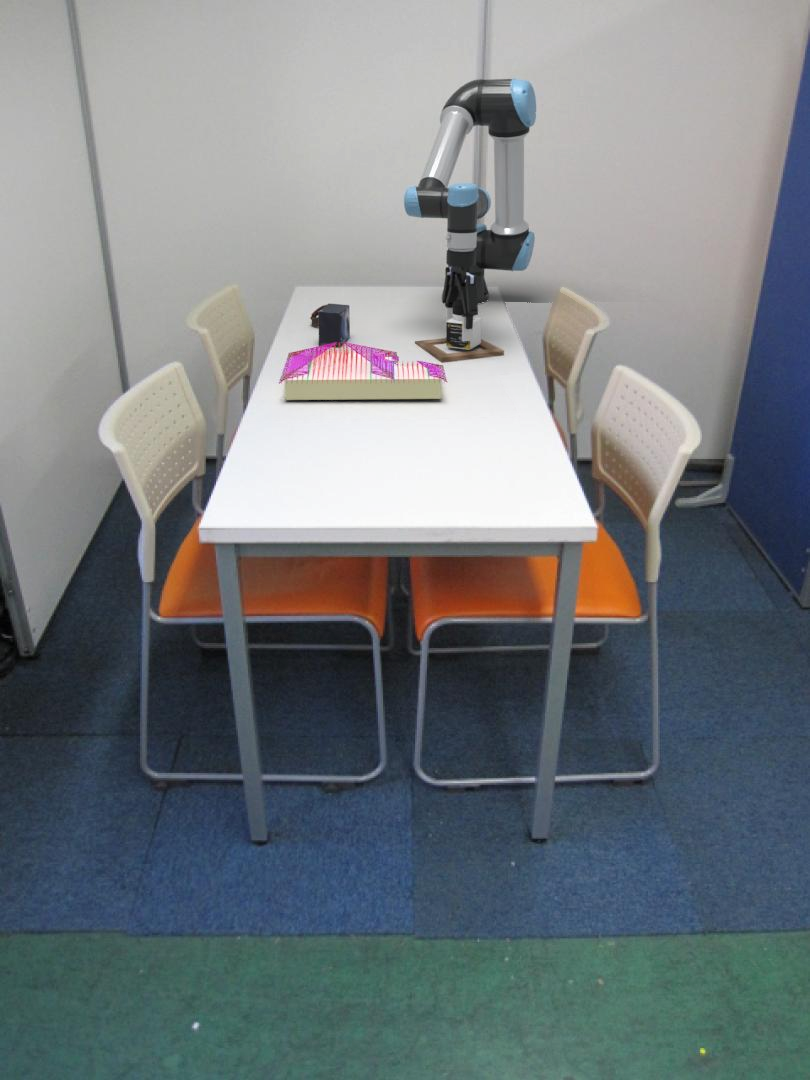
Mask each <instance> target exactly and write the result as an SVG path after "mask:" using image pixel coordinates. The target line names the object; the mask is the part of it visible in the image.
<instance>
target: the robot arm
mask: <svg viewBox="0 0 810 1080" xmlns="http://www.w3.org/2000/svg"><path fill="white" fill-rule="evenodd" d="M536 112H537V99H536V92H535V90H534V86H533V84H532V83H531V82H530V81H529V80H528V79H517V78H504V79H503V78H501V79H499V78H497V79H496V78H494V79H484V78H483V79H481V78H480V79H474V80H471V81H468V82H467V83H465V84H463V85H462V86H460V87H459V88H458V89H457V90H456V91H455V92H454V93H453V94H452V95H450V97H449V98H448V99H447V100H446V102H445V104H444V105H443V108H442V110H441V113H440V116H439V123H440V125H439V129H438V131H437V135H436V137H435V139H434V141H433V145H432V148H431V150H430V152H429V156H428V159H427V161H426V163H425V166H424V170H423V172H422V176H421V178H420V180H419V183H418V186H417V185H414V186H409V187H408V188H406V190H405V192H404V196H403V197H404V198H403V204H404V205H403V206H404V211H405V213H406V215H407V216H409V217H413V218H421V219H423V218H424V219H447V220H446V221H447V223H446V224H447V227H446V228H447V230H446V231H447V233H446V234H447V235H446V236H445V240H446V247H447V250H446V264H447V267H445V270H444V271H445V273H444V274H445V277H444V285H443V291H442V294H441V300H442V301H441V302H442V303H443V304H444V306H445V307H444V308H445V322H446V321H447V320H449V319H451V318H453V302H454V301H456V300H460V299H462V304H463V309H464V314H463V315H462V317H463V319H462V341H463V342H464V341H472V336H473V316H474V315H475V316H478V315H479V308H478V305H479V304H478V303H482V302H485V301H487V300H488V299H490V298H489V297H490V294H489V290H488V285H487V283H486V279H485V270H497V271H498V270H499V271H511V272H514V271H515V272H519V271H520V272H523V271H525V270H527V268H528V267H529V265H530V262H531V259H532V255H533V252H534V251H533V250H534V246H535V245H534V244H535V233H534V232H533V231H532V230H529V229H530V227H529V226H530V225H529V223H528V222H527V221H526V220H524V219H525V217H524V215H525V214H524V213H525V211H524V210H525V209H524V208H525V205H524V204H525V198H524V197H525V137H526V136H527V135H528V134H529V133H530V128H531V127H533V126H534V125H535V123H536V119H537V115H536V114H537V113H536ZM476 126H477V127H478V126H481V127H484V126H485V127H488V128H487V130H488V132H487V133H488V136H489V137H491V138H492V139H493V159H494V161H493V162H494V166H493V167H494V170H493V171H494V173H493V174H494V213H495V214H494V217H495V219H494V222H493V223H492V224H491V225H490V229H488V228H487V225H486V224H482V223H478V220H480V219H482V218H484V217H485V216H486V215H487V214H488V212H489V211H490V209H491V204H492V199H491V197H490V194H489V192H488V191H487V190H485V189H484V188H483V187H478V185H477V184H475V183H467V182H465V183H464V182H463V183H462V182H461V183H460V182H459V183H452V184H450V182H451V181H450V180H451V178H452V175H453V173H454V170H455V167H456V163H457V162H458V158H459V155H460V153H461V150H462V147H463V144H464V141H465V140H466V136H467V135H469V134H470V133H471V131H472V130H473V128H474V127H476ZM449 184H450V185H449ZM448 186H449V187H448ZM488 301H489V300H488ZM488 301H487V302H488ZM482 304H483V303H482Z"/></svg>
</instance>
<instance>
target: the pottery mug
mask: <svg viewBox="0 0 810 1080" xmlns="http://www.w3.org/2000/svg"><path fill="white" fill-rule="evenodd" d="M328 304H329V303H327V304H324V305H322V306H320V307H318V308H317V309H315V310H314V311H313V312H312V313H311V316H310V317H309V319H310V320H311V327H313V328H318V311H319V310H321V309H322V308H323V307H325V306H326V305H328Z"/></svg>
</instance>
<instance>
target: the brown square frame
mask: <svg viewBox="0 0 810 1080" xmlns="http://www.w3.org/2000/svg"><path fill="white" fill-rule="evenodd" d="M443 344H446V337H444V338H443V337H442V338H434V339H433V338H432V339H424V340H423V339H422V340H414V345H416V346H417V347H419V348H421V349H422V350H424V352H426V353H427V354H429V355H430V356H432V357H433V358H435V359H436V360H437V361H439V362H440V363H441V364H442V363H452V362H458V361H459V362H460V361H469V360H475V359H484V358H485V359H486V358H492V357H500V356H501V357H502V356H504V355H505V350H504V349H501V348H499V347H497V346H495V345H493V344H492V343H490V342H488V341H486V340H484V339H482V338H481V344H479V345H477V346H476V347H478V348H480V349H477V350H471V351H470V350H467V351H462V352H461V351H460V352H451V353H447V352H445V351H444V350H442V349H440V348H439V347H437V346H436V345H443Z"/></svg>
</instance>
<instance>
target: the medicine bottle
mask: <svg viewBox="0 0 810 1080" xmlns="http://www.w3.org/2000/svg"><path fill="white" fill-rule="evenodd" d="M463 314H464V309H463V304H462V299H460V300H456V301H454V302H453V318H451V319H449V320H447V321H446V320H445V333H446V334H445V335H446V336H445V338H446V343H445V344H446V348H450V349H451V348H453V349H459V350H466V351H470V350H473V349H474V348H475V347H478V346H477V345H479V344H481V339H482V318H481V317H480V316H476V315H474V316H473V336H472V341H464V342H463V341H462V319H463V317H462V315H463Z"/></svg>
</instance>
